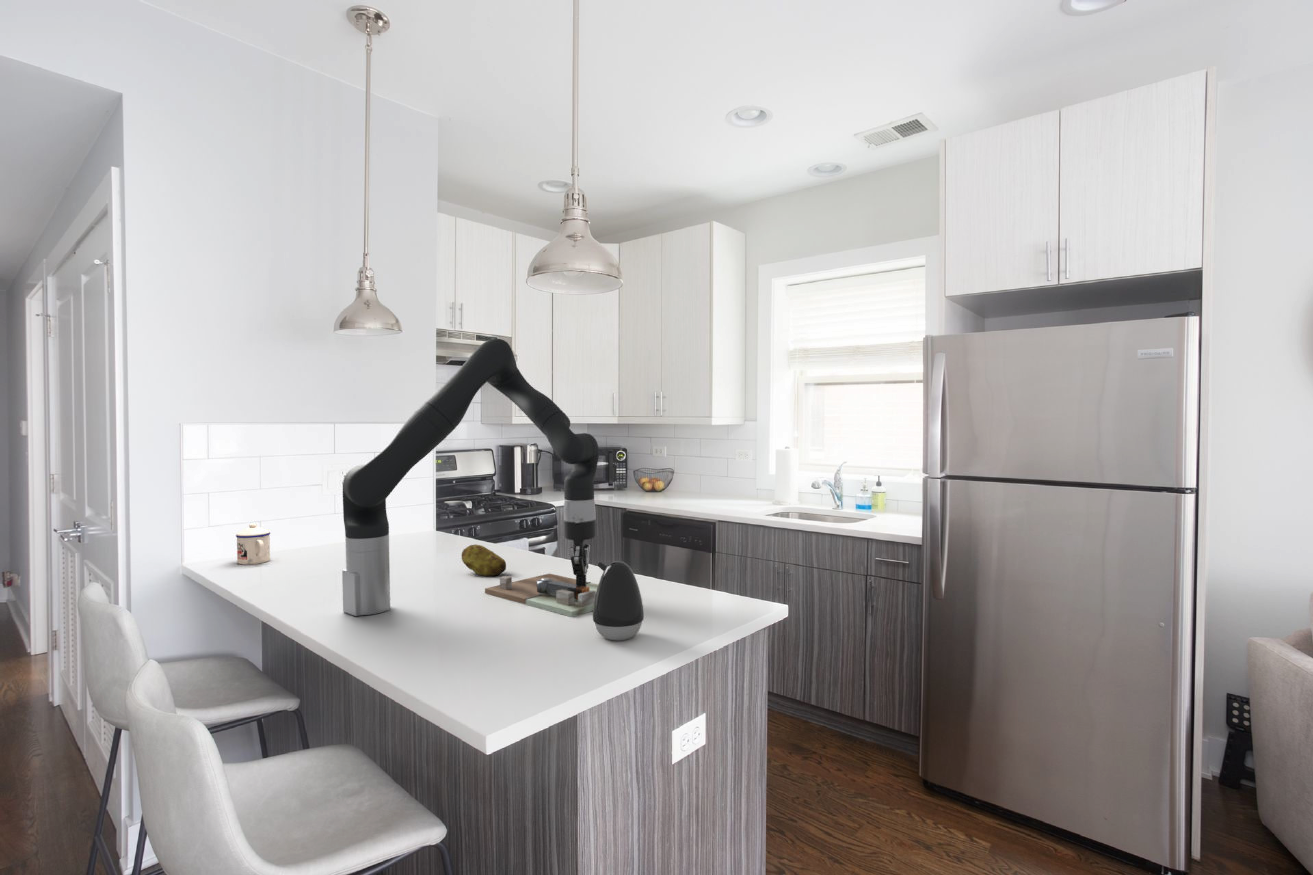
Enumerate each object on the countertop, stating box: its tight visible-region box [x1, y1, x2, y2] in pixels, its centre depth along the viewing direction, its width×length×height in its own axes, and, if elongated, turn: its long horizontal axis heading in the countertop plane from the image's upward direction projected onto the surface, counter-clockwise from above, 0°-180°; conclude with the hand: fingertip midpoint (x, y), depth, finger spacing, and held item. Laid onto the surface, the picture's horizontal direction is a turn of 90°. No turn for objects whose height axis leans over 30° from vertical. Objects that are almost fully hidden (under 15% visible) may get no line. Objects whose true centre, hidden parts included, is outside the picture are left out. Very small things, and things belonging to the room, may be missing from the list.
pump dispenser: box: [592, 560, 645, 642], centre depth 138 cm, size 10×10×15 cm
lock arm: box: [537, 578, 590, 600], centre depth 163 cm, size 4×15×3 cm, turn 54°
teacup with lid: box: [235, 523, 271, 566], centre depth 210 cm, size 12×9×12 cm
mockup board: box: [484, 572, 599, 618], centre depth 170 cm, size 21×32×4 cm, turn 49°
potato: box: [461, 544, 507, 577], centre depth 193 cm, size 8×13×8 cm, turn 52°
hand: (581, 590), depth 164 cm, fingers closed
